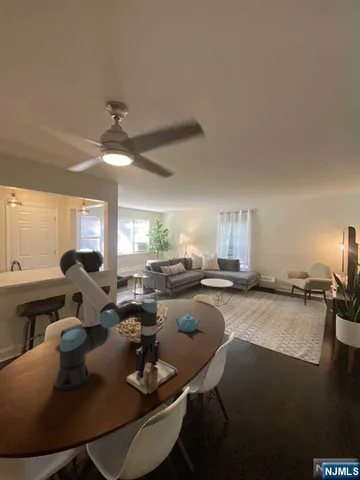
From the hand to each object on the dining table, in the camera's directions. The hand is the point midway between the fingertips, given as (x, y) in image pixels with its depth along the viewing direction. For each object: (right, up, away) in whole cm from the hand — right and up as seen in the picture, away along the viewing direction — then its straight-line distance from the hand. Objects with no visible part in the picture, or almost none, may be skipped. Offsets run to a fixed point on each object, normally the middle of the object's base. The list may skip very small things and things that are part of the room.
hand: (147, 380), depth 107 cm
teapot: (+22, -3, +69) cm, 72 cm away
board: (+2, -3, +8) cm, 9 cm away
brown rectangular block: (-1, -3, +1) cm, 3 cm away
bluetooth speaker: (-53, -1, +47) cm, 71 cm away
